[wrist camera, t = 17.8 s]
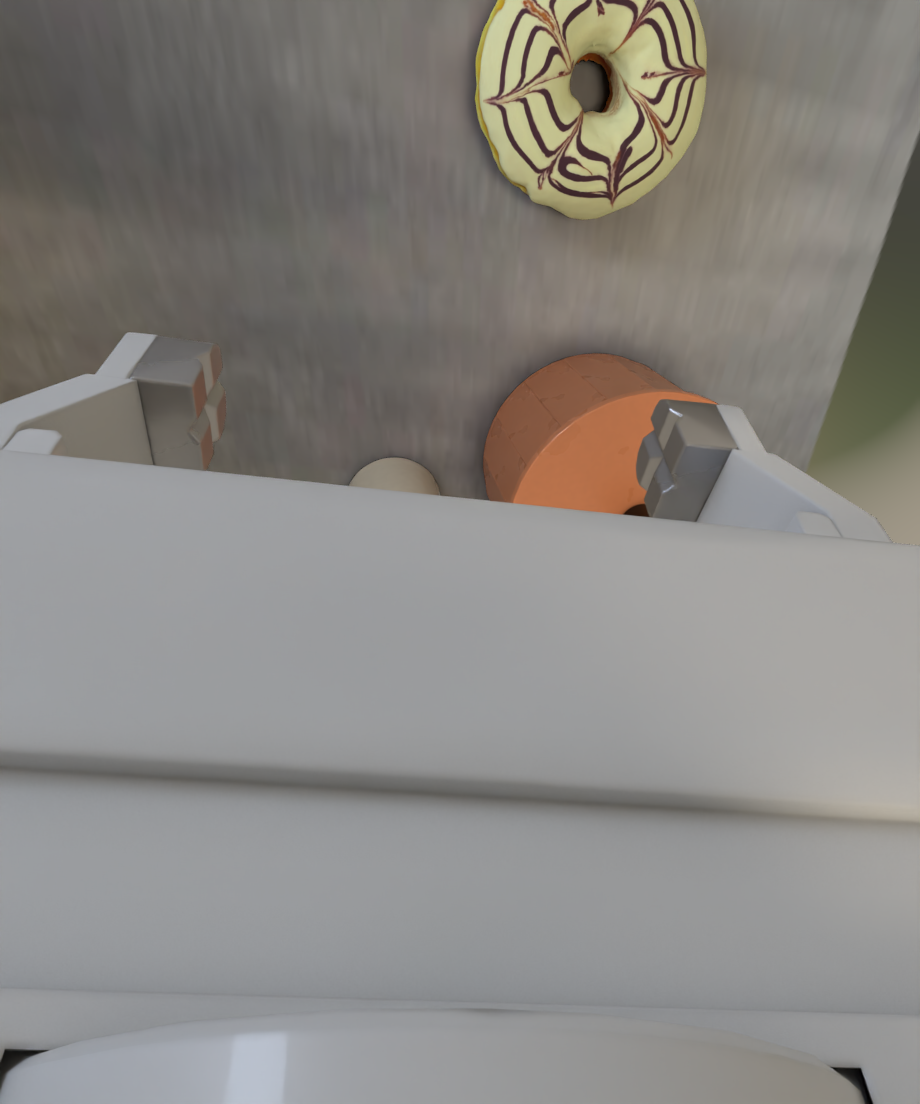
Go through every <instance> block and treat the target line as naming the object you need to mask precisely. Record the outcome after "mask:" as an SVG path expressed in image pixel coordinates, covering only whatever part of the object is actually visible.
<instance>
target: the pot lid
mask: <svg viewBox="0 0 920 1104" xmlns="http://www.w3.org/2000/svg"><path fill="white" fill-rule="evenodd" d="M662 399H670V400H680V401H690V402H701V403H711V404H717V405H719V404H718V403H716V402H714V401H712V400H710V399H708V398H705V397H703V396H700V395H697V394H694V393H690V392H685V391H680V390H669V389H652V390H640V391H636V392H631V393H626V394H622V395H619V396H616V397H613V398H610V399H607V400H604V401H602V402H600V403H598V404H596V405H594V406H592V407H590V408H588V409H586V410H584V411H582V412H581V413H579V414H578V415H576V416H575V417H573V418H572V419H570V420H569V421H567V422H566V423H565V424H564V425H562V426H561V427H560V428H559V429H558V430H556V431H555V432H554V433H553V434H552V435H551V436H550V437H549V438H548V439H547V440H546V441H545V442H544V443H543V444H542V445H541V446H540V448H539V449H538V450H537V452H536V453H535V454H534V455H533V457H532V458H531V459H530V461H529V462H528V464H527V466H526V467H525V469H524V471H523V472H522V474H521V476H520V478H519V480H518V482H517V484H516V487H515V489H514V491H513V494H512V497H511V501H510V503H516V504H525V505H535V506H545V507H554V508H564V509H573V510H583V511H593V512H602V513H612V514H621V515H631V516H641V517H649V514H648V511H647V508H646V505H645V502H644V497H645V495H646V492H647V491H646V490H645V489H644V488H642V487H641V486H640V485H639V483H638V480H637V475H636V463H637V456H638V451H639V448H640V445H641V443H642V440H643V438H644V437H645V436H647V435H648V434H649V433H651V432H652V431H653V430H654V427H653V424H652V421H651V416H652V414H653V411H654V409H655V407H656V405H657V404H658V402H659V401H660V400H662Z"/></svg>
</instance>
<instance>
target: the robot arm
mask: <svg viewBox="0 0 920 1104" xmlns="http://www.w3.org/2000/svg"><path fill="white" fill-rule="evenodd" d="M222 368H223V365H222V358H221V350H220V348H219V346H218V344H214V343H207V342H200V341H193V340H186V339H179V338H172V337H165V336H158V335H154V334H143V333H132V332H131V333H126V334H125V335H124V337H123V338H122V339H121V341H120V342H119V343H118V345H117V346H116V347H115V349H114V350H113V351H112V353H111V354H110V355H109V357H108V358H107V359H106V361H105V362H104V363H103V365H102V366H101V367H100V368H99V370H98V371H97V372H96V374H95V375H92V374H84V375H81V376H78V377H75V378H73V379H70V380H67V381H64V382H61V383H58V384H55V385H53V386H50V387H47V388H44V389H41V390H38V391H36V392H33V393H30V394H27V395H24V396H21V397H19V398H16V399H13V400H10V401H7V402H4V403H2V404H0V1104H920V546H919V545H910V544H900V543H893V542H892V540H891V539H890V537H889V536H888V534H887V533H886V531H885V530H884V528H883V527H882V525H881V524H880V523H879V521H878V520H877V518H875V517H874V516H872V515H871V514H869V513H867V512H866V511H864V510H863V509H861V508H859V507H858V506H856V505H855V504H853V503H851V502H850V501H848V500H847V499H845V498H844V497H842V496H840V495H839V494H837V493H835V492H834V491H833V490H831V489H829V488H828V487H826V486H824V485H823V484H821V483H820V482H818V481H817V480H815V479H813V478H812V477H810V476H809V475H807V474H806V473H804V472H802V471H801V470H799V469H798V468H796V467H794V466H793V465H791V464H790V463H788V462H787V461H785V460H783V459H782V458H780V457H779V456H777V455H775V454H772V453H767V452H766V451H765V449H764V447H763V445H762V444H761V442H760V440H759V438H758V437H757V435H756V433H755V431H754V430H753V428H752V426H751V424H750V423H749V421H748V419H747V417H746V416H745V414H744V412H743V410H742V409H741V408H739V407H737V406H730V405H717V404H711V403H701V402H690V401H680V400H670V399H662V400H660V401H659V402H658V404H657V405H656V407H655V409H654V411H653V414H652V416H651V421H652V424H653V427H654V430H653V431H652V432H651V433H649V434H648V435H647V436H645V437H644V438H643V440H642V443H641V445H640V448H639V451H638V456H637V463H636V475H637V480H638V483H639V485H640V486H641V487H642V488H644V489H645V490H646V491H647V492H646V495H645V497H644V502H645V505H646V508H647V511H648V514H649V517H641V516H631V515H621V514H612V513H602V512H593V511H583V510H573V509H564V508H554V507H545V506H535V505H525V504H516V503H506V502H497V501H487V500H478V499H468V498H459V497H449V496H440V495H430V494H421V493H411V492H402V491H392V490H383V489H373V488H364V487H354V486H345V485H335V484H326V483H316V482H307V481H297V480H288V479H278V478H269V477H259V476H250V475H240V474H231V473H221V472H212V471H206V470H207V468H208V466H209V463H210V461H211V459H212V456H213V454H214V451H213V442H215V441H217V440H219V439H220V438H221V435H222V432H223V430H224V424H225V418H226V394H225V389H224V388H223V387H222V385H221V384H220V383H219V382H218V381H217V379H218V377H219V375H220V373H221V370H222Z"/></svg>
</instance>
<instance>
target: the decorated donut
mask: <svg viewBox="0 0 920 1104" xmlns="http://www.w3.org/2000/svg"><path fill="white" fill-rule="evenodd" d="M589 59H590V60H593V61H595V62H597V63H598V64H601V65H602V66H603V67H604V69H605V70H606V74H608V75H607V78H608V80H609V82H610V83H609V88H610V95H609V97H608V101H606V107H605V108H604V110H603V111H602V112H601V113H598V112H595V111H589V112H586V113H584V111H583V109H582V107H581V106H580V104H579V102H578V101H577V99H576V98H574V97H573V96H572V94H571V91H570V78H571V74H572V71H573V68H574V66H575V65H576V63H577V62H578V63H579V61H580V60H585V61H587V60H589ZM706 63H707V50H706V41H705V36H704V30H703V27H702V25H701V21H700V17H699V14H698V11H697V8H696V6H695V3H694V1H693V0H498V1H497V3H496V5H495V7H494V9H493V11H492V12H491V14H490V17H489V20H488V22H487V23H486V25H485V27H484V29H483V32H482V36H481V40H480V44H479V47H478V51H477V55H476V82H477V88H476V94H475V102H476V110H477V115H478V119H479V123H480V126H481V129H482V131H483V133H484V135H485V136H486V138H487V140H488V142H489V145H490V148H491V150H492V153H493V157H494V159H495V161H496V163H497V165H498V168H499V170H500V171H501V173H502V174H503V175H504V176H505V177H506V178H507V179H508V180H509V181H510V183H512V184H513V185H514V186H517V187H519V188H520V189H521V190H522V191H523V192H524V193H526V194H527V195H529V196H530V199H531V200H532V201H533V202H534V203H538V204H542V205H546V206H550V207H552V208H553V209H555V210H557V211H559V212H561V213H563V214H564V215H566V216H567V217H570V218H575V219H580V220H586V219H596V218H599V217H602V216H604V215H607V214H609V213H612V212H614V211H616V210H619V209H621V208H623V207H626V206H629V205H631V204H633V203H634V202H636V201H637V200H638V199H639V198H640V197H642V196H643V195H645V194H647V193H648V192H649V191H650V190H652V189H653V188H654V187H655V186H656V185H658V184H659V182H660V181H662V180H663V179H664V178H666V177H667V175H668V174H669V173H670V171H671V170H672V169H673V168H674V167H675V165H676V164H677V163H678V162H679V160H680V159H681V158H682V156H683V155H684V154H685V152H686V150H687V148H688V147H689V145H690V144H691V142H692V140H693V139H694V137H695V135H696V133H697V130H698V127H699V123H700V119H701V114H702V110H703V106H704V99H705V92H706Z"/></svg>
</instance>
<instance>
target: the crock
mask: <svg viewBox="0 0 920 1104" xmlns="http://www.w3.org/2000/svg"><path fill="white" fill-rule="evenodd" d="M349 486H354V487H364V488H373V489H383V490H392V491H402V492H411V493H421V494H430V495H440V496H441V494H440V490H439V487H438V485H437V482H436V481H435V479H434V477H433V476H432V475H431V473H430V472H429V471H428V470H427V469H425V468H424V467H423V466H421V465H420V464H418V463H416V462H414V461H411V460H408V459H404V458H384V459H380V460H377V461H374V462H372V463H370V464H368V465H367V466H365V467H364V468H362V469H361V470H360V471H359V472H358V473H357V474H356V475H355V476H354V478H353V479H352V481H351V483H350V485H349Z"/></svg>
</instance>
